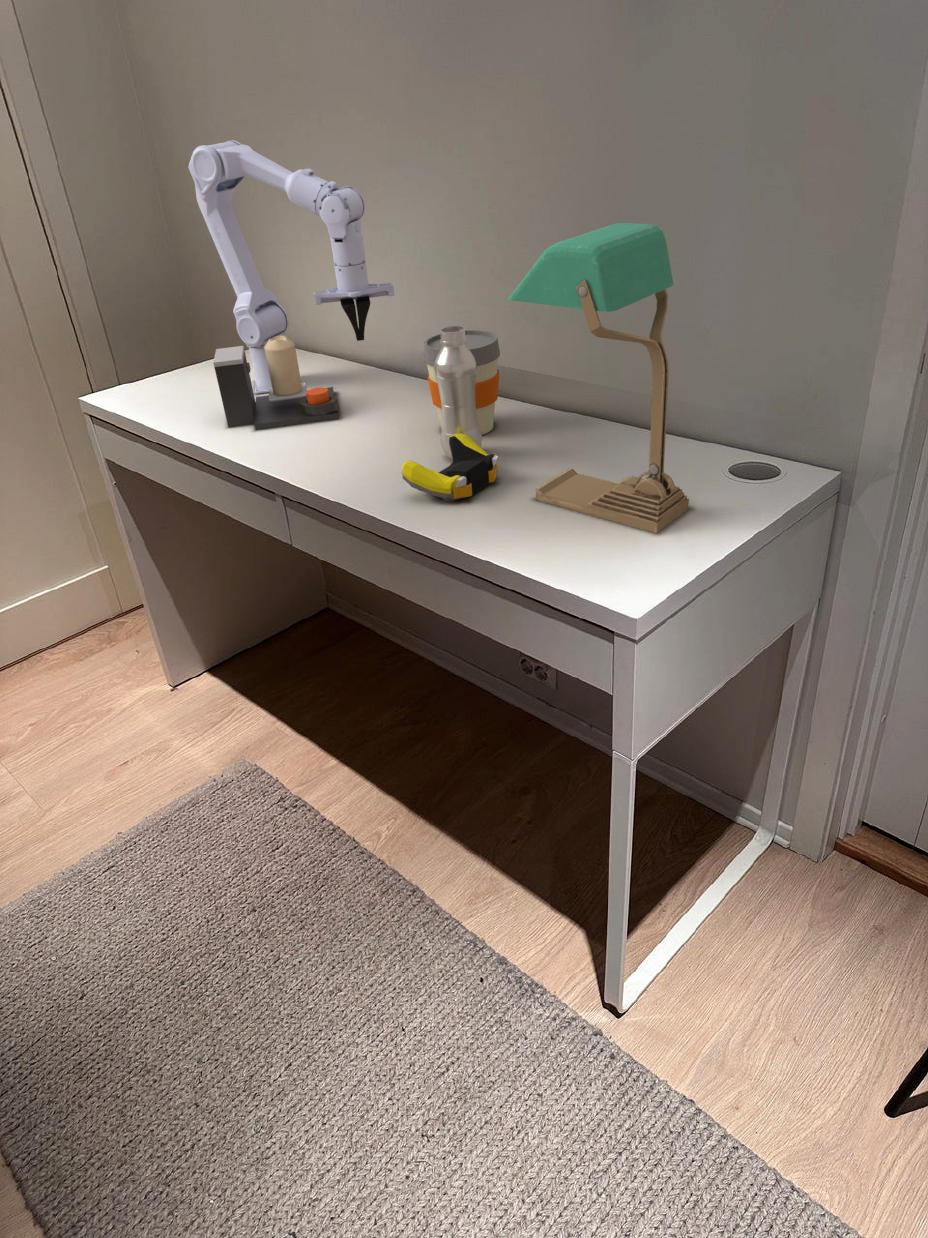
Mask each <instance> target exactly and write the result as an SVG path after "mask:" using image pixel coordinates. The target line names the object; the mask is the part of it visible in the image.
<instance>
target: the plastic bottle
mask: <svg viewBox="0 0 928 1238" xmlns="http://www.w3.org/2000/svg"><path fill="white" fill-rule="evenodd" d="M465 330H466V329H465V326H462V325H449V326H445V327H442V328H441V329H440V332H439V334H441V339H440V343H441V344H443V346H442V348H441V350H440V351H439V353H438V355H437V357H436V359H435V363H434V371H435V375H436V380H437V384H438V388H439V393H440V400H441V406H442V430H441V432H440V444H441V448H442V451H443V453H444V454H445V456H446V457H448V458H450V459H452V455H451V451H450V447H449V438H450V436H453V435H455V434H457V433H461V434H464V435H467V436H469V437H470V438H471V439H472V440H473V441H474V442H475V443H476V444H477V445H478V446H480V447H481V448H482V445H483V435H481V430H480V427H479V425H478V418H477V412H476V404H475V380H476V361H475V358H474V356H473V354H472V353H471V352H470V350H469V349H468V348H467V347H466V345H465V343H464V342H465V341H466V337H465Z"/></svg>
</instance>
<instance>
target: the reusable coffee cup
mask: <svg viewBox="0 0 928 1238" xmlns="http://www.w3.org/2000/svg"><path fill="white" fill-rule="evenodd" d="M465 337H466V341H465V342H464V343H465V345H466V347H467V348H468V349H469V350H470V352H471V353H472V354H473V356H474V358H475V361H476V380H475V404H476V412H477V418H478V425H479V427H480V430H481V435H482V436H483V435H486V434H488V433H489V432H490V431H492V430H493V428H494V423H495V422H494V420H495V408H496V405H495V404H496V402H497V401H498V398H499V386H500V369H498V365H499V364H498V363H499V358H500V356H501V352H500V351H501V350H500V344H499V338H498V336H497V334H496V333H494V332H491V331H488V330H481V329H465ZM440 339H441V334H440V333H437V334H435V335H432V336H430V337H428V338H427V339H425V340H424V342H423V343H424V344H423V362H424V363H425V364H426V367H427V372H428V375H427V382H428V387H429V391H430V397H431V400H432V404H433V405H434V406H435V407H436V411H437V415H438V421H439V425H440V429H441V431H442V406H441V400H440V393H439V388H438V384H437V380H436V375H435V371H434V363H435V359H436V357H437V355H438V353H439V351H440V350H441V348H442V346H443V344H441V343H440Z"/></svg>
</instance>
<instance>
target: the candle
mask: <svg viewBox="0 0 928 1238" xmlns="http://www.w3.org/2000/svg"><path fill="white" fill-rule="evenodd" d="M285 336H286V335H285ZM285 336H283V335H281V336H275V337H273V338H272V339H271V338H269V340H268V342H267V344H266V345H265V347H264V349H265V354H266V359H267V364H268V369H269V374H270V379H271V384H272V389H273V393H274V394H275V395H280V396H286V395H292V394H296V393H298V392H300V391H302V383H303V382H302V377H301V371H300V366H299V361H298V355H297V351H296V350H297V349H296V344H295V342H293V340H291V339H289V338H288V337H287V336H286V337H285Z"/></svg>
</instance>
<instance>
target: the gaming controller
mask: <svg viewBox="0 0 928 1238" xmlns="http://www.w3.org/2000/svg"><path fill="white" fill-rule="evenodd" d="M449 447H450V451H451V455H452V458H451V459H452V462H451V464H450V465H448V466H447V467H445V468H443V469H442V470H440V471H438V472H437V471H435V470H432V469H430V468H427V467H425V466H423V465H422V464H420V463H418V462H415V461H413V460H410V459H409V460H407V461H405V462H404V461H403V463H402V469H401V475H402V479H403V480H404V481H405V482H406V483H407V484H408V485H409V486H410V487H411V488H413V489H415V490H418V491H420V492H423V493H425V494H428V495H430V496H433V497H437V498H441V500H443V501H444V502H455V501H457V500H460V499H466V498H468V497H472V496H473V495H474V494H475V493H477V492H478V491H480V490H481V489H483V488H485V487H486V486H488V485H489V484H490V483H493V482H495V480H496V477H497V474H498V463H497V462H498V459H499V456H498V455H497V454H496V453H487V452H486V451H485V449H483V448H482V446H481V447H480V446H478V445H477V444H476V443H475V442H474V441H473V440H472V439H471V438H470V437H469V436H467V435H464V434H461V433H457V434H455V435H453V436H450V438H449Z"/></svg>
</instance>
